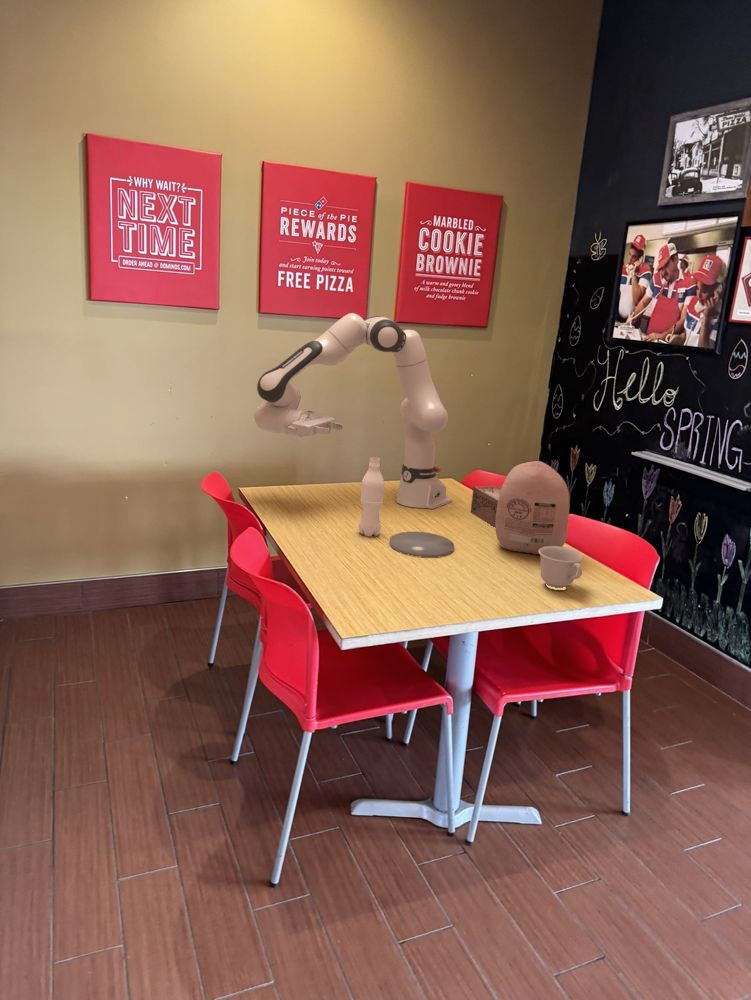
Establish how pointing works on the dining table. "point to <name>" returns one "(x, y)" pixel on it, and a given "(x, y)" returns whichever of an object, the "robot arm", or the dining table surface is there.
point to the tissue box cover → (485, 503)
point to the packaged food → (532, 508)
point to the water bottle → (371, 499)
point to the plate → (421, 544)
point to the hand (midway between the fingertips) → (335, 429)
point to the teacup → (559, 565)
